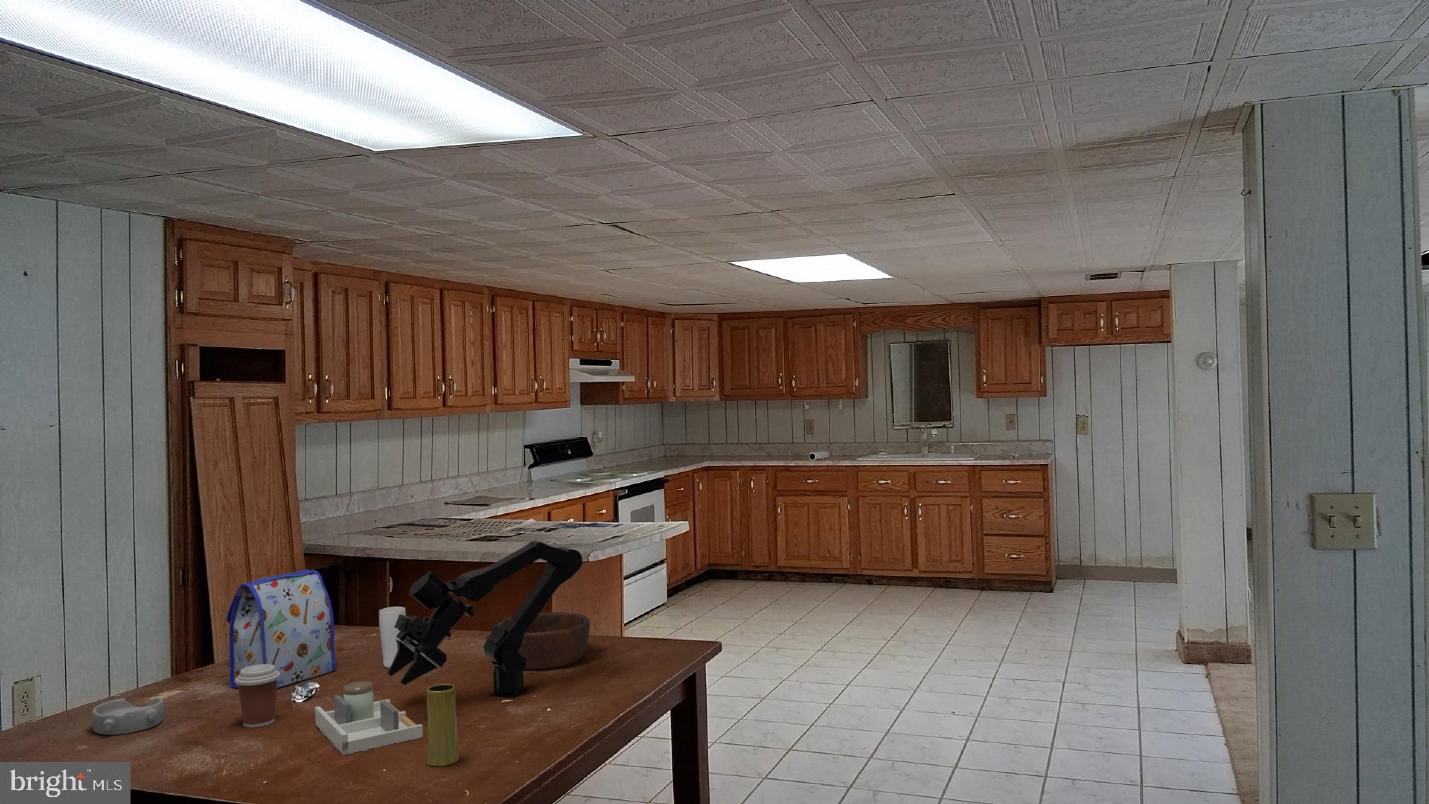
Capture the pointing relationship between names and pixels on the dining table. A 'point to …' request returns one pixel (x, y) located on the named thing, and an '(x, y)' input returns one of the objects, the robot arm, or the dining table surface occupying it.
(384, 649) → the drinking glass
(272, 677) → the coffee cup
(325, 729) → the white divided tray
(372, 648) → the dining table surface
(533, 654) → the wooden bowl
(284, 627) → the lunch bag
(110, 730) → the dish
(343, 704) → the plate
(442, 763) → the vase
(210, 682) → the dining table surface
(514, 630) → the robot arm
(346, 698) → the sage jar
